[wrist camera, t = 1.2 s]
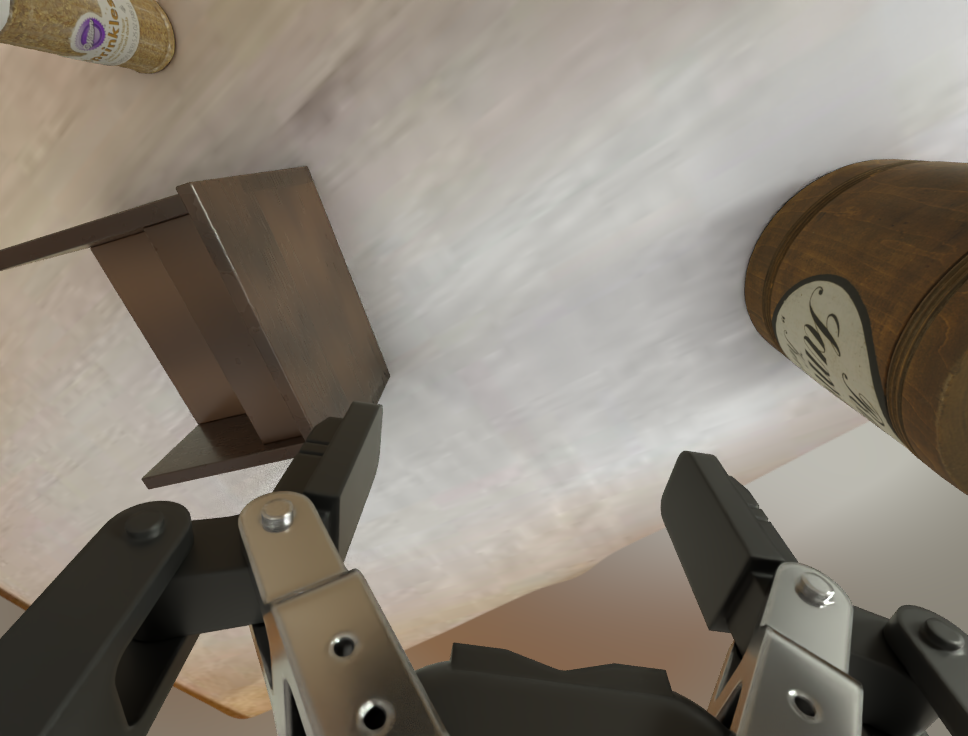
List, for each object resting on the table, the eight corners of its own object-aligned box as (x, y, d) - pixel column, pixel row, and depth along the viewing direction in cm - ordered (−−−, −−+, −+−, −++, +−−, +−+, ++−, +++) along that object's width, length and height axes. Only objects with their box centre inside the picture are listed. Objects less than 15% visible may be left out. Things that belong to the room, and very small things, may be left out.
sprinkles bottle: (173, 86, 32) (-30, 54, 19) (102, 54, 31) (-155, 1, 19) (182, 8, 30) (-37, -82, 18) (106, -28, 29) (-175, -146, 17)
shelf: (112, 226, 36) (-101, 274, 23) (307, 165, 33) (190, 181, 21) (222, 415, 43) (105, 532, 30) (390, 376, 40) (340, 483, 28)
